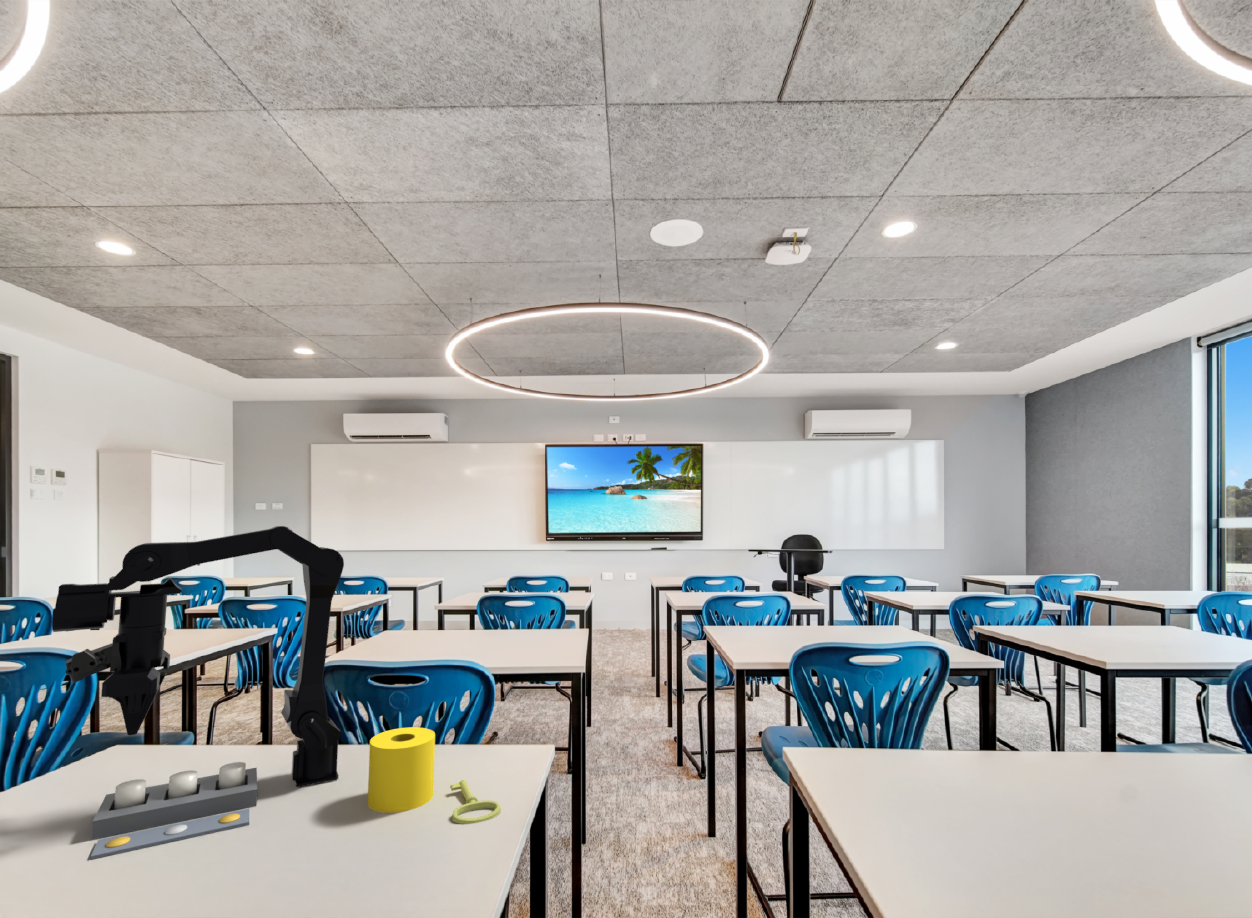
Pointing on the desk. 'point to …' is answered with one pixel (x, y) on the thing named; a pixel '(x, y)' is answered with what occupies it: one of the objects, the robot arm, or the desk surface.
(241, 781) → the button
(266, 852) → the desk surface
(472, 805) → the key
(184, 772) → the button middle
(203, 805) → the button panel
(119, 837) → the pattern card
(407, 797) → the yellow cylinder with hole
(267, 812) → the desk surface
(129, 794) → the button
